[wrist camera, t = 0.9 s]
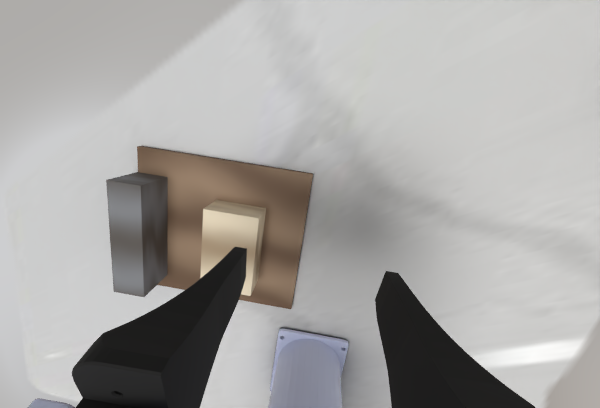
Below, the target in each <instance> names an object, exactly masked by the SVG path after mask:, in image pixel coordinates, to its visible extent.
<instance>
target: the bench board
mask: <svg viewBox="0 0 600 408" xmlns="http://www.w3.org/2000/svg"><path fill="white" fill-rule="evenodd" d="M137 152H138V172H137V173H133V174H129V175H125V176H121V177H117V178H113V179H109V180H106V182H107V197H108V212H109V227H110V242H111V257H112V271H113V286H114V292H119V293H124V294H130V295H135V296H140V297H145V296H146V295H147V294H148V293H149V292H150V291H151V290H152V289H153V288H154V287H155V286H156V285H162V286H167V287H173V288H178V289H184V290H186V289H188V288H189V287H190V286H192V285H193V284H194V283H195V282H197V281H198V280H199V279H200V274H201V250H202V226H203V209H204V208H205V207H207V206H208V205H210V204H211V203H213V202H214V201H216V200H220V201H226V202H232V203H238V204H244V205H250V206H256V207H261V208H266V214H265V222H264V231H263V240H262V249H261V257H260V266H259V275H258V280H257V282H256V285H255V287H254V289H253V292H252V294H251V296H247V295H242V294H241V295H240V298H239V300H244V301H249V302H255V303H260V304H265V305H271V306H276V307H282V308H287V309H291V307H292V301H293V295H294V289H295V283H296V277H297V271H298V264H299V258H300V252H301V246H302V240H303V234H304V227H305V221H306V215H307V209H308V203H309V197H310V190H311V184H312V178H313V174H312V173H306V172H300V171H293V170H287V169H281V168H275V167H268V166H262V165H256V164H250V163H244V162H237V161H231V160H225V159H219V158H212V157H206V156H200V155H194V154H188V153H181V152H175V151H169V150H163V149H156V148H150V147H144V146H138V147H137Z"/></svg>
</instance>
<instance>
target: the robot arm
mask: <svg viewBox="0 0 600 408" xmlns="http://www.w3.org/2000/svg"><path fill="white" fill-rule="evenodd" d="M246 262H247V248H241V247H234V248H233V249H232V250H231V251H230V252H229V253H228V254H227V255H226V256H225V257H224V258H223V259H222V260H221V261H220V262H219V263H218V264H217V265H215V266H214V267H213V268H212V269H211V270H210V271H209V272H208V273H207V274H205V275H204V276H203V277H202V278H200V279H199V280H198V281H197V282H195V283H194V284H193V285H192V286H190V287H189V288H188V289H186V290H185V291H183V292H182V293H180V294H179V295H177V296H176V297H174V298H173V299H171V300H170V301H168V302H166V303H165V304H163V305H161V306H160V307H158V308H156V309H154V310H153V311H151V312H149V313H147V314H145V315H143V316H141V317H139V318H137V319H135V320H133V321H131V322H129V323H126V324H124V325H122V326H119V327H117V328H115V329H112V330H110V331H107V332H105V333H103V334H102V335H101V336H100V337H99V338H98V339H97V340H96V341H95V342H94V343H93V345H92V346H91V347H90V348H89V349H88V351H87V352H86V353H85V354H84V355H83V357H82V358H81V359H80V360H79V362H78V363H77V364H76V365H75V366H74V368H73V371H72V376H73V379H74V382H75V384H76V386H77V388H78V389H79V391H80V393H81V395H82V397H83V399H82V400H81V401H80V403H79V404H78V405H77V407H76V408H200V405H201V401H202V398H203V395H204V391H205V388H206V385H207V382H208V379H209V375H210V372H211V369H212V366H213V363H214V360H215V357H216V354H217V351H218V348H219V345H220V342H221V340H222V337H223V334H224V332H225V330H226V328H227V325H228V323H229V321H230V319H231V316H232V314H233V312H234V309H235V307H236V305H237V303H238V300H239V298H240V295H241V292H242V289H243V286H244V282H245V279H246ZM375 301H376V313H377V321H378V326H379V331H380V336H381V340H382V345H383V349H384V354H385V359H386V363H387V369H388V376H389V385H390V393H391V403H392V408H535V407H534V406H533V405H532V404H530V403H529V402H527V401H526V400H525V399H523V398H522V397H520V396H519V395H518V394H516V393H515V392H514V391H512V390H511V389H509V388H508V387H507V386H505V385H504V384H503V383H502V382H500V381H499V380H498V379H497V378H495V377H494V376H493V375H492V374H490V373H489V372H488V371H487V370H485V369H484V368H483V367H482V366H481V365H479V364H478V363H477V362H476V361H475V360H474V359H473V358H472V357H470V356H469V355H468V354H467V353H466V352H465V351H464V350H463V349H462V348H461V347H460V346H459V345H458V344H457V343H456V342H455V341H454V340H453V339H452V338H451V337H450V336H449V335H448V334H447V333H446V332H445V331H444V330H443V329H442V328H441V327H440V326H439V325H438V323H437V322H436V321H435V320H434V319H433V318H432V317H431V315H430V314H429V313H428V312H427V311H426V309H425V308H424V307H423V306H422V304H421V303H420V302H419V301H418V299H417V298H416V297H415V295H414V294H413V293H412V291H411V290H410V289H409V287H408V286H407V284H406V283H405V282H404V280H403V279H402V278H401V276H400V275H399V274H398V273H394V272H388V271H386V273H385V275H384V278H383V280H382V283H381V286H380V288H379V291H378V294H377V296H376V299H375ZM281 336H284V337H281ZM348 346H349V344H348V341H347V340H343V339H338V338H333V337H327V336H322V335H317V334H311V333H306V332H301V331H295V330H290V329H284V328H281V329H280V330H279V332H278V339H277V346H276V352H275V359H274V366H273V372H272V379H271V386H270V391H271V396H270V401H269V406H268V408H342V393H341V375H342V370H343V366H344V362H345V358H346V354H347V350H348ZM342 347H344V348H342ZM28 408H75V407H73V406H72V405H70V404H67V403H62V402H57V401H51V400H45V399H40V398H38V399H35V400H34V401H33V402H32V403H31V404H30V405H29V407H28Z"/></svg>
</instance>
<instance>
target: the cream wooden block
mask: <svg viewBox="0 0 600 408" xmlns="http://www.w3.org/2000/svg"><path fill="white" fill-rule="evenodd" d="M265 214H266V208H261V207H256V206H250V205H244V204H238V203H232V202H226V201H220V200H216V201H214V202H213V203H211V204H210V205H208V206H207V207H205V208H204V209H203V226H202V250H201V274H200V278H202V277H203V276H204V275H205V274H207V273H208V272H209V271H210V270H211V269H212V268H213V267H214V266H215V265H217V264H218V263H219V262H220V261H221V260H222V259H223V258H224V257H225V256H226V255H227V254H228V253H229V252H230V251H231V250H232V249H233V248H234V247H241V248H247V262H246V279H245V282H244V286H243V289H242V292H241V294H242V295H247V296H251V294H252V292H253V289H254V287H255V285H256V282H257V280H258V275H259V266H260V257H261V249H262V240H263V231H264V222H265Z"/></svg>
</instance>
